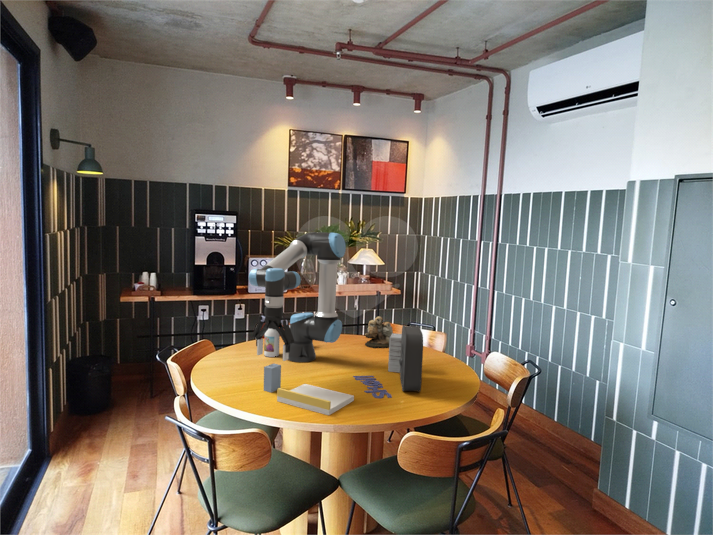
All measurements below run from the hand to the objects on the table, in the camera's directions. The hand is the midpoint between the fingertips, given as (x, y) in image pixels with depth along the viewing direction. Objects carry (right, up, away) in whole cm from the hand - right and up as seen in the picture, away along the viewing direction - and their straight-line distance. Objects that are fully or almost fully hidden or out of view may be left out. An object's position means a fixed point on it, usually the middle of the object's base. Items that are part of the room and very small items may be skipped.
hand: (272, 357), depth 199 cm
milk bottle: (-9, -9, +52) cm, 53 cm away
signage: (+41, -15, +10) cm, 45 cm away
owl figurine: (+47, -8, +80) cm, 93 cm away
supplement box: (+55, -13, +35) cm, 67 cm away
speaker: (+57, -15, +13) cm, 61 cm away
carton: (0, -14, +2) cm, 14 cm away
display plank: (+19, -15, -9) cm, 26 cm away
